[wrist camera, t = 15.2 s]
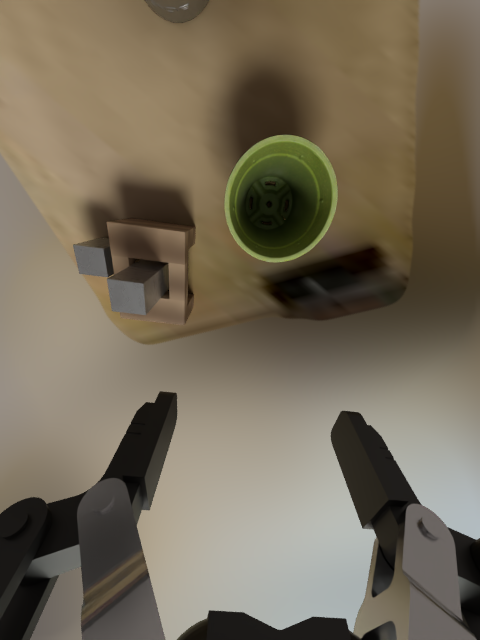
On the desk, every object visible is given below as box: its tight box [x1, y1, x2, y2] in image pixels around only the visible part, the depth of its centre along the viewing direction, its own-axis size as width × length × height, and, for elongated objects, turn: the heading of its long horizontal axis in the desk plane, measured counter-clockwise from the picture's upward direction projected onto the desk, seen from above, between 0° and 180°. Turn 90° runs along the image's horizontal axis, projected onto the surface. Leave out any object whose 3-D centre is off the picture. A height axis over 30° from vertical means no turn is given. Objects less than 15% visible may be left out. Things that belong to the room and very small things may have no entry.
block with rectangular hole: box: [107, 218, 196, 325], centre depth 35 cm, size 14×10×7 cm
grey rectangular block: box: [73, 237, 114, 277], centre depth 34 cm, size 4×4×7 cm
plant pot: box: [224, 135, 337, 262], centre depth 28 cm, size 12×12×11 cm
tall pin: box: [107, 259, 169, 315], centre depth 32 cm, size 4×4×14 cm
